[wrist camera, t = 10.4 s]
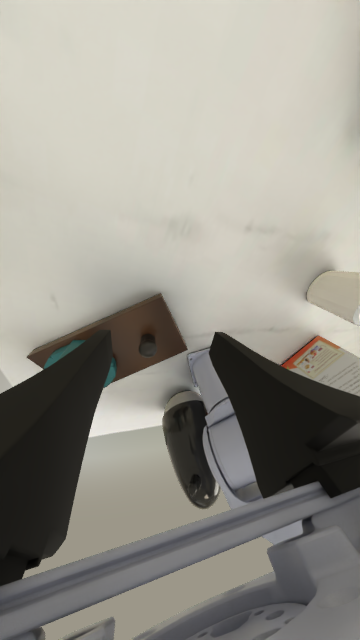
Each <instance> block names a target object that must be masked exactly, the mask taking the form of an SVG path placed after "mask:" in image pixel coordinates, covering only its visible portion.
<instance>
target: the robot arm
mask: <svg viewBox="0 0 360 640" xmlns="http://www.w3.org/2000/svg"><path fill="white" fill-rule="evenodd" d="M112 357H113V350H112V340H111V330H99V331H97V332H96V333H95V334H94V335H92V336H91V337H90V338H88V339H87V340H86V341H85V342H83V343H82V344H81V345H79V346H78V347H77V348H75V349H74V350H73V351H71V352H70V353H68V354H67V355H65V356H64V357H62V358H61V359H59V360H58V361H57V362H55V363H54V364H52V365H50V366H49V367H47V368H46V369H44V370H42V371H41V372H39V373H37V374H36V375H34V376H32V377H31V378H29V379H27V380H25V381H24V382H22V383H20V384H18V385H16V386H14V387H12V388H10V389H9V390H7V391H5V392H3V393H1V394H0V640H45V632H44V630H43V629H42V627H40V626H43V625H45V624H48V623H50V622H53V621H55V620H58V619H60V618H63V617H65V616H68V615H70V614H72V613H75V612H77V611H80V610H82V609H85V608H87V607H90V606H92V605H94V604H97V603H99V602H102V601H104V600H106V599H109V598H112V597H114V596H116V595H119V594H121V593H124V592H126V591H129V590H131V589H134V588H136V587H138V586H141V585H143V584H146V583H148V582H151V581H153V580H155V579H158V578H160V577H163V576H165V575H168V574H170V573H173V572H175V571H178V570H180V569H182V568H185V567H187V566H190V565H192V564H195V563H197V562H200V561H202V560H205V559H207V558H209V557H212V556H214V555H217V554H219V553H221V552H224V551H227V550H229V549H231V548H234V547H236V546H239V545H241V544H244V543H246V542H248V541H251V540H253V539H256V538H258V537H261V536H262V537H263V538H265V539H267V540H268V541H270V542H271V543H272V544H274V545H273V546H271V547H270V548H268V549H267V554H268V556H269V559H270V562H271V564H272V567H273V569H274V571H273V572H271V573H269V574H266V575H264V576H261V577H259V578H257V579H254V580H252V581H250V582H247V583H245V584H243V585H240V586H238V587H235V588H233V589H231V590H229V591H226V592H224V593H221V594H219V595H217V596H215V597H212V598H210V599H208V600H206V601H203V602H201V603H199V604H197V605H195V606H193V607H191V608H189V609H187V610H185V611H182V612H180V613H178V614H176V615H174V616H173V617H171V618H169V619H167V620H165V621H163V622H161V623H159V624H157V625H156V626H154V627H152V628H150V629H148V630H146V631H145V632H143V633H141V634H139V635H137V636H135V637H134V638H132V639H130V640H360V396H357V395H354V394H351V393H348V392H345V391H342V390H339V389H336V388H333V387H330V386H327V385H325V384H322V383H319V382H317V381H314V380H312V379H309V378H307V377H304V376H302V375H300V374H297V373H295V372H293V371H290V370H288V369H286V368H284V367H282V366H280V365H278V364H276V363H274V362H272V361H270V360H268V359H266V358H265V357H263V356H261V355H259V354H258V353H256V352H254V351H253V350H251V349H249V348H248V347H246V346H245V345H243V344H241V343H240V342H238V341H237V340H235V339H234V338H232V337H230V336H229V335H227V334H225V333H223V332H215V335H214V338H213V341H212V344H211V347H210V348H209V349H205V350H202V351H198V352H195V353H191V354H189V355H188V356H187V357H188V362H189V366H190V370H191V375H192V379H193V383H194V387H199V390H200V393H201V395H202V398H203V401H204V404H205V407H206V410H207V413H208V415H207V416H205V419H206V422H207V425H206V426H205V427H204V430H203V447H204V451H205V455H206V458H207V461H208V464H209V467H210V469H211V472H212V474H213V476H214V478H215V480H216V482H217V483H218V485H219V486H220V487H221V489H222V491H223V493H224V495H225V497H226V499H227V501H228V504H229V506H230V508H231V510H229V511H226V512H223V513H220V514H217V515H214V516H211V517H208V518H205V519H202V520H199V521H196V522H193V523H190V524H187V525H184V526H181V527H178V528H175V529H172V530H169V531H165V532H162V533H159V534H156V535H153V536H150V537H147V538H144V539H141V540H139V541H135V542H132V543H129V544H126V545H123V546H120V547H117V548H114V549H111V550H108V551H105V552H102V553H99V554H96V555H93V556H90V557H87V558H84V559H81V560H78V561H75V562H72V563H69V564H66V565H63V566H60V567H57V568H54V569H51V570H48V571H45V572H42V573H39V574H36V575H33V576H30V577H27V578H24V579H22V577H23V574H24V572H25V570H28V569H31V568H34V567H37V566H39V564H40V562H41V560H42V559H45V558H48V557H51V556H53V555H54V554H55V553H56V551H57V550H58V549H59V547H60V546H61V545H62V543H63V542H64V540H65V539H66V535H67V530H68V525H69V520H70V515H71V511H72V506H73V501H74V496H75V492H76V487H77V483H78V478H79V474H80V470H81V465H82V461H83V457H84V453H85V448H86V444H87V440H88V436H89V432H90V428H91V424H92V420H93V417H94V413H95V410H96V407H97V404H98V401H99V398H100V395H101V393H102V390H103V387H104V384H105V382H106V379H107V376H108V373H109V370H110V366H111V362H112ZM190 358H191V359H190ZM114 628H115V620H114V618H113V617H110V618H107V619H105V620H102V621H100V622H97V623H94V624H92V625H89V626H86V627H84V628H82V629H79V630H77V631H75V632H73V633H71V634H68V635H66V636H64V637H63V638H61V639H59V640H113V639H114Z"/></svg>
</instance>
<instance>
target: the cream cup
mask: <svg viewBox="0 0 360 640" xmlns="http://www.w3.org/2000/svg"><path fill="white" fill-rule="evenodd" d="M307 300H308V302H310V303H312V304H314V305H316V306H318V307H320V308H322V309H324V310H326V311H328V312H330V313H333V314H335V315H337V316H339V317H341V318H343V319H345V320H347V321H349V322H351V323H353V324H355V325H357V326H360V273H357V272H344V271H327V272H325V273H323V274H321V275H320V276H318V277H317V278H316V279H315V280H314V281H313V283H312V284H311V285H310V287H309V289H308V291H307Z"/></svg>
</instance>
